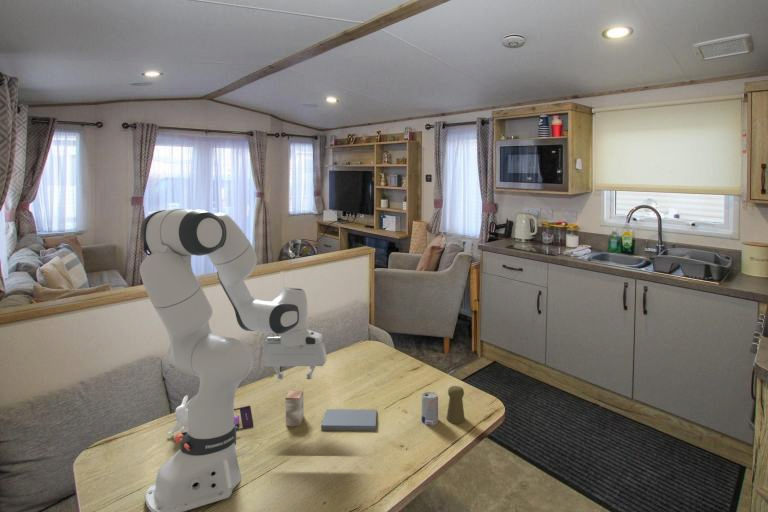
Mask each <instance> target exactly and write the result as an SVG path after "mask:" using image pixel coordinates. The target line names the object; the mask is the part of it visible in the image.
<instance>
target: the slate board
mask: <svg viewBox="0 0 768 512" xmlns="http://www.w3.org/2000/svg"><path fill="white" fill-rule="evenodd" d="M377 413H378V412H377V409H346V408H345V409H339V408H337V409H334V408H331V409H329V408H328V409H326V410H325V413H324V416H323V418H322V419H323V420H322V422H321V423H320V430H321V431H376V428H377Z"/></svg>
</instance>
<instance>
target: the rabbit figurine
mask: <svg viewBox="0 0 768 512" xmlns="http://www.w3.org/2000/svg"><path fill="white" fill-rule="evenodd" d="M188 399H189V395H185V396H184V397H183V398H182V401H181V404H180V405H179V406H177V407H176V408H175V412H174V418H176V421H177V422H176V423H175V425H174V426H173V428H172V429H171V430H170V431H168V432H167V433H166V434H167V435H171V434H175V433H177V432H178V431H179V430H181V431H180V434H182V433H187V432H188V404H189V401H190V400H191V398H190V399H189V400H188Z"/></svg>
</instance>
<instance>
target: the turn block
mask: <svg viewBox="0 0 768 512" xmlns="http://www.w3.org/2000/svg"><path fill="white" fill-rule="evenodd" d="M284 403H285V426H287V427H288V426H290V427H291V426H292V427H293V426H295V427H297V426H300V427H301V425H302V422H303V418H304V417H305V416H304V415H305V413H304V408H305V407H304V390H289V391H288V393H287V394H286V396H285V402H284Z"/></svg>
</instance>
